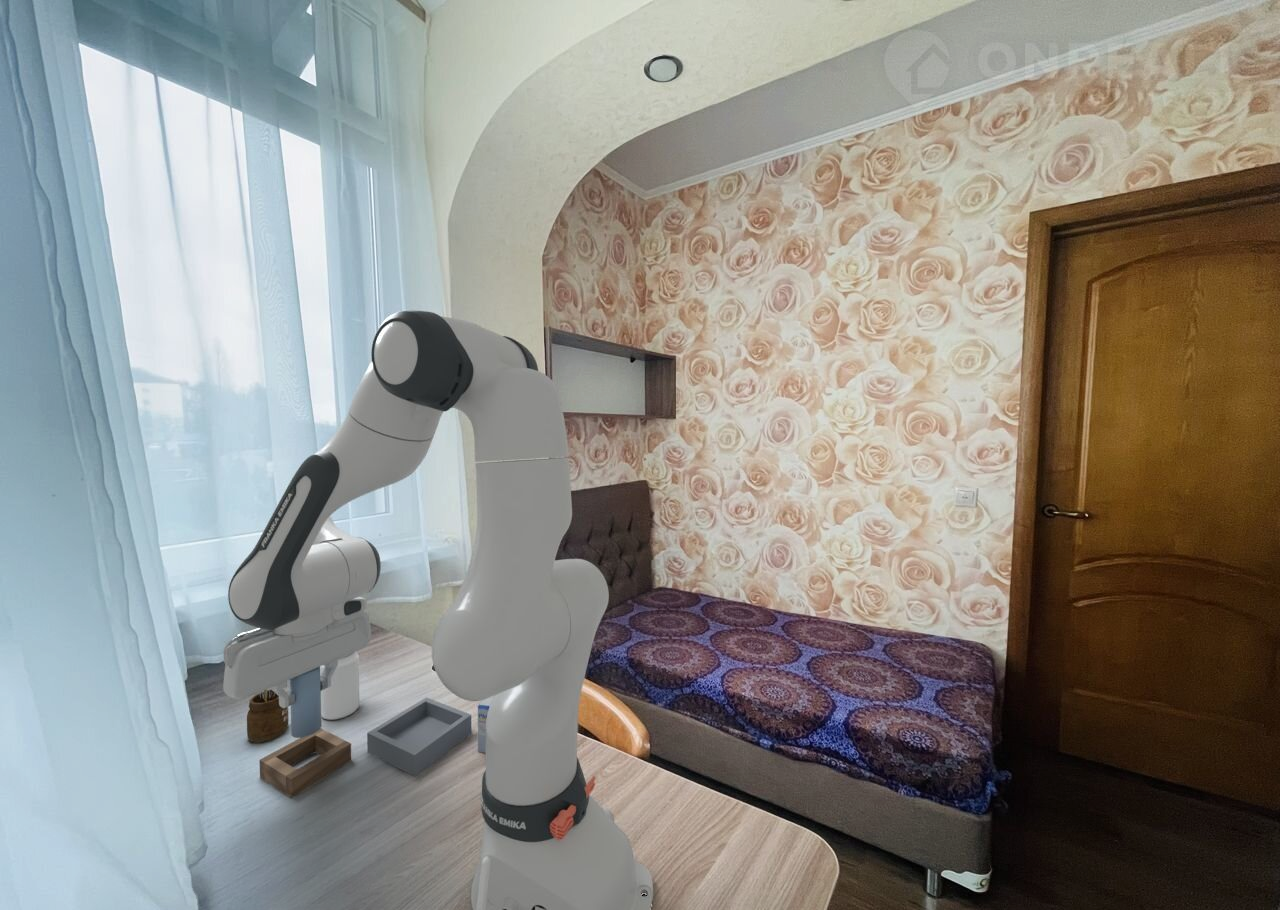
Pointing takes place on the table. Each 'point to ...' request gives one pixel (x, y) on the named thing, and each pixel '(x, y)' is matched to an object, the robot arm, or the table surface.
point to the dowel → (306, 704)
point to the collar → (295, 781)
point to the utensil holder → (266, 717)
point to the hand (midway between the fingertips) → (306, 696)
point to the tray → (419, 735)
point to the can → (342, 689)
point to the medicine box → (483, 723)
